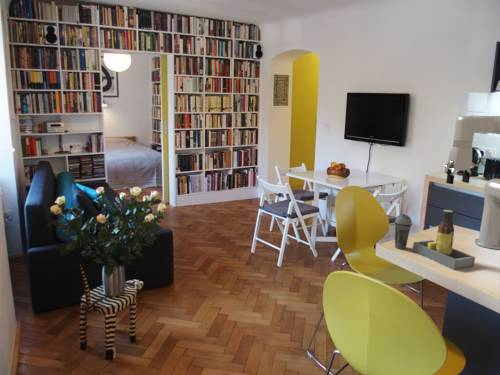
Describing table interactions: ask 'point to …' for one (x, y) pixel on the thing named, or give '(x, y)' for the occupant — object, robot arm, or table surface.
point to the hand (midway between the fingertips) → (457, 183)
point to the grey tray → (444, 256)
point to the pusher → (432, 245)
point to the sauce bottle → (445, 234)
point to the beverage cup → (402, 230)
